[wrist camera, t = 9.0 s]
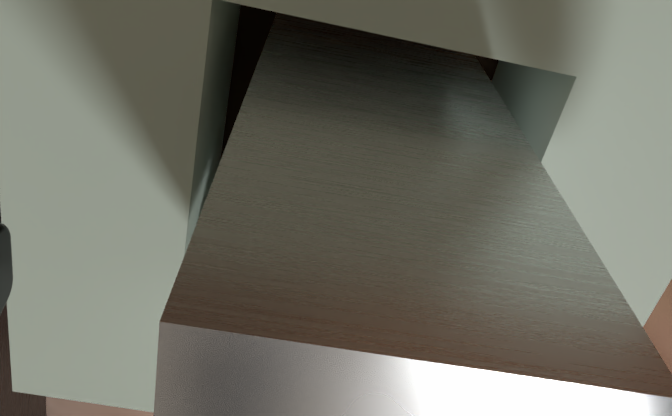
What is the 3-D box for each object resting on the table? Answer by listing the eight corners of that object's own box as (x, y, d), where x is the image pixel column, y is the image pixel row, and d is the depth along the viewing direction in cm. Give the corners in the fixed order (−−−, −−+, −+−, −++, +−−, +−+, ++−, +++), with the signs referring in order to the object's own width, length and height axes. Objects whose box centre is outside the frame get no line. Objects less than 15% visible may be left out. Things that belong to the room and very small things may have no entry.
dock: (514, 349, 18) (556, 472, 14) (80, 276, 17) (12, 391, 13) (735, -119, 12) (897, -102, 8) (85, -285, 11) (-36, -344, 7)
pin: (418, 201, 15) (516, 660, 7) (255, 173, 15) (140, 619, 6) (466, 40, 13) (687, 399, 5) (279, 4, 13) (159, 322, 4)
